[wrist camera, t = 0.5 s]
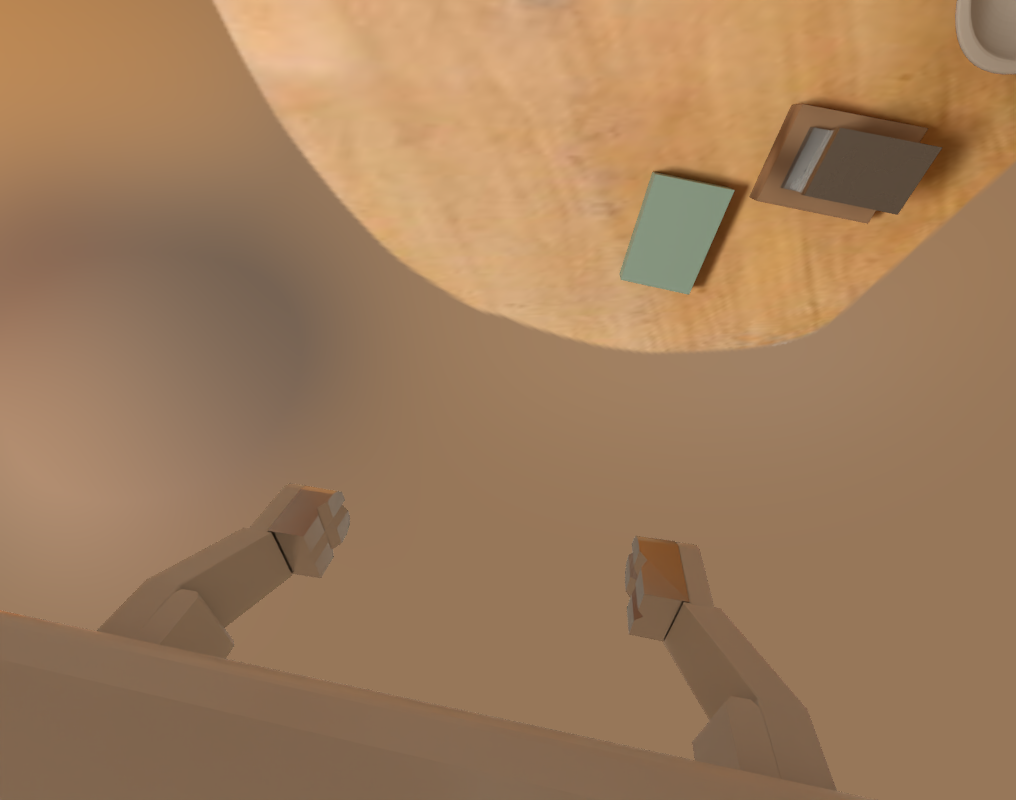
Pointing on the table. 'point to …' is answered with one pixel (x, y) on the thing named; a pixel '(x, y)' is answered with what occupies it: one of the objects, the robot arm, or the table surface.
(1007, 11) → the dish
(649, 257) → the stand
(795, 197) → the stand
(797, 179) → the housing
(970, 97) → the table surface
